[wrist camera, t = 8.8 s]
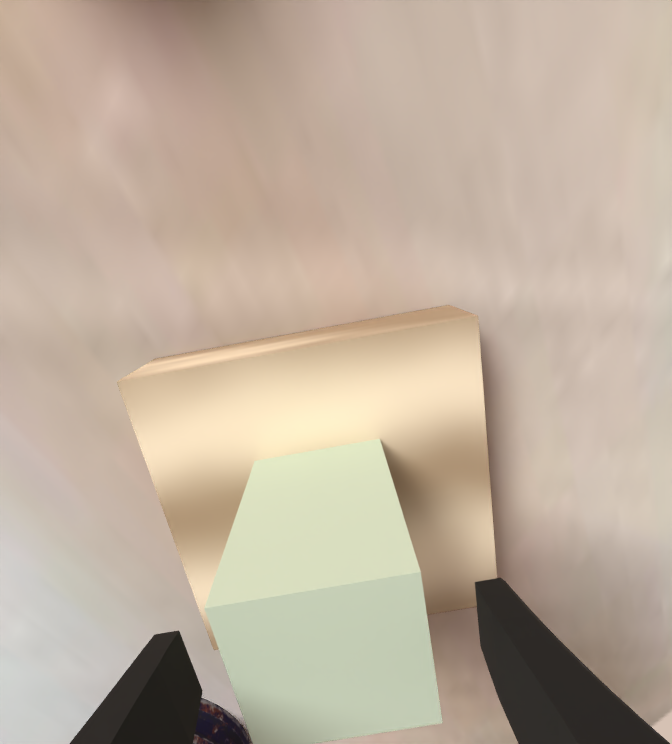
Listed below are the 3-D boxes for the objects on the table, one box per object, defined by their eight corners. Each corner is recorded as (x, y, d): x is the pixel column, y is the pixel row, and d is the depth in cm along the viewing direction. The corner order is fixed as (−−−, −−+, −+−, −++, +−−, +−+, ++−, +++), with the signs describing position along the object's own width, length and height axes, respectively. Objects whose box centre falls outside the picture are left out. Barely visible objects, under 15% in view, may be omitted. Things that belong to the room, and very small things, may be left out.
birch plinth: (472, 550, 19) (498, 602, 16) (230, 590, 19) (214, 650, 16) (449, 305, 15) (477, 315, 12) (154, 358, 16) (116, 381, 13)
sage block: (396, 543, 15) (442, 723, 9) (282, 562, 15) (255, 753, 9) (379, 438, 14) (420, 571, 8) (254, 460, 14) (204, 608, 8)
